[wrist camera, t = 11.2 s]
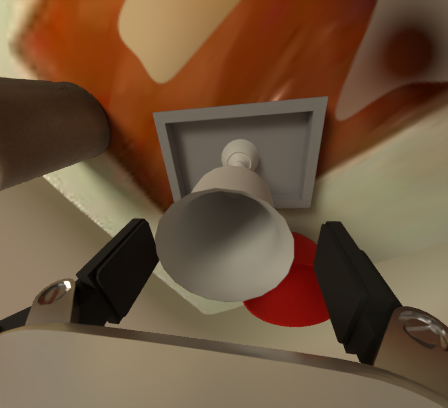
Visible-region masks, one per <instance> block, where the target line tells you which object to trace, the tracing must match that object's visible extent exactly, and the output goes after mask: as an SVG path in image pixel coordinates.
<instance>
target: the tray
mask: <svg viewBox="0 0 448 408" xmlns="http://www.w3.org/2000/svg"><path fill="white" fill-rule="evenodd" d="M327 100H328V96H327V97H313V98H302V99H292V100H281V101H270V102H260V103H249V104H238V105H228V106H217V107H206V108H196V109H185V110H175V111H164V112H156V113H153V117H154V121H155V125H156V129H157V133H158V138H159V142H160V146H161V150H162V154H163V158H164V162H165V166H166V171H167V175H168V179H169V183H170V187H171V191H172V195H173V199H174V203H175V202H177V201H178V200H180V199H182V198H183V197H185V196H187V195H188V194H190V193H191V192H192V190H193V189H194V187H195V186H196V185H197V183H198V182H199V181H200V180H201V178H202V177H203V176H204V175H205V174H207V173H209V172H210V171H212V170H213V169H215V168H219V167H223V164H222V160H221V158H222V152H223V150H224V148H225V147H226V146H227V144H228V143H230V142H232V141H233V140H238V139H243V140H247V141H249V142H251V143H252V144H253V145H254V146H255V147H256V148H257V150H258V153H259V162H258V165H257V167H256V169H255V170H254V171H253V172H255V173H257V174H258V175H259V176H260V177H261V178H262V179H263V180H264V181H265V182H266V184H267V186H268V188H269V190H270V192H271V195H272V199H273V203H274V208H310V206H311V200H312V194H313V188H314V181H315V175H316V169H317V163H318V156H319V150H320V144H321V138H322V131H323V125H324V119H325V113H326V106H327Z"/></svg>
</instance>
